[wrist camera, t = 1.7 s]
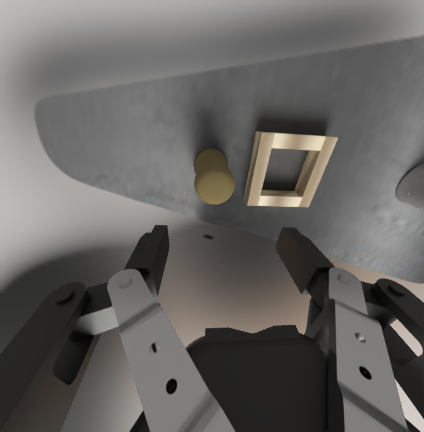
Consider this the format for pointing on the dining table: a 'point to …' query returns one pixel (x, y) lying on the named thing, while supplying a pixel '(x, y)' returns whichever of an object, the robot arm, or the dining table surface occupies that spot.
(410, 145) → the dining table surface
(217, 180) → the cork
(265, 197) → the socket block
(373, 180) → the dining table surface
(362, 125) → the dining table surface
